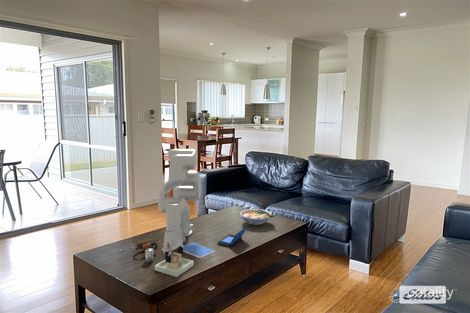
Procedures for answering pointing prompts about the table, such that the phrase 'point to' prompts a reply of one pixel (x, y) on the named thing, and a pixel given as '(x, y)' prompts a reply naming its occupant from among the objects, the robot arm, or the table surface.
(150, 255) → the grey canister
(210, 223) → the table surface
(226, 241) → the handheld game console
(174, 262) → the beech block
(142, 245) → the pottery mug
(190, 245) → the tablet computer
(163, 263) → the tray
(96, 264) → the table surface
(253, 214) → the ramen bowl
